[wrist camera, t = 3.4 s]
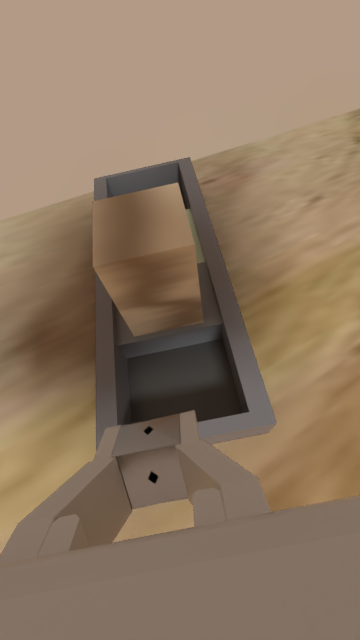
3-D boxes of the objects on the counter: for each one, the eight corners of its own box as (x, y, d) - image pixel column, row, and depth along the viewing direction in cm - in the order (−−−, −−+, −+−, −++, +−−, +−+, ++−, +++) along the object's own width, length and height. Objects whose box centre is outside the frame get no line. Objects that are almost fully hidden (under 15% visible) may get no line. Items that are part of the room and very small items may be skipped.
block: (190, 269, 27) (178, 182, 19) (203, 322, 24) (194, 244, 16) (129, 282, 27) (92, 201, 19) (134, 336, 24) (92, 266, 16)
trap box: (192, 186, 38) (189, 157, 35) (268, 433, 22) (276, 423, 18) (105, 206, 38) (94, 178, 35) (116, 462, 22) (96, 458, 19)
